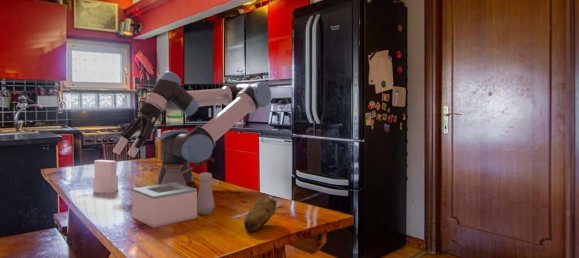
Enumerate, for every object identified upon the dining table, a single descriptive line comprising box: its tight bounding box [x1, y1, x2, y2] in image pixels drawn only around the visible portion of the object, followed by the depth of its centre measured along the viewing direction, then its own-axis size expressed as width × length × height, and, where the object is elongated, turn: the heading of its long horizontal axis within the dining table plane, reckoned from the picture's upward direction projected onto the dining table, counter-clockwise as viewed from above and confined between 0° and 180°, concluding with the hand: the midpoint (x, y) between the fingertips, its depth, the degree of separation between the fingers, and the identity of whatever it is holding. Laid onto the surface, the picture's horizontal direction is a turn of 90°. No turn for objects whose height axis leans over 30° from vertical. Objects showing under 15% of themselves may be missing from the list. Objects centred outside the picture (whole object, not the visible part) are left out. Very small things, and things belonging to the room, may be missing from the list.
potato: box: [243, 196, 277, 233], centre depth 112 cm, size 8×13×8 cm, turn 137°
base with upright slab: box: [92, 159, 119, 194], centre depth 157 cm, size 9×9×12 cm
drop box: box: [131, 182, 198, 229], centre depth 121 cm, size 14×14×9 cm
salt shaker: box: [197, 171, 216, 216], centre depth 126 cm, size 6×6×13 cm
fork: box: [231, 201, 284, 219], centre depth 128 cm, size 3×24×2 cm, turn 136°
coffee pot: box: [161, 156, 215, 186], centre depth 144 cm, size 21×12×15 cm, turn 127°
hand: (122, 154), depth 145 cm, fingers open, 13 cm apart
